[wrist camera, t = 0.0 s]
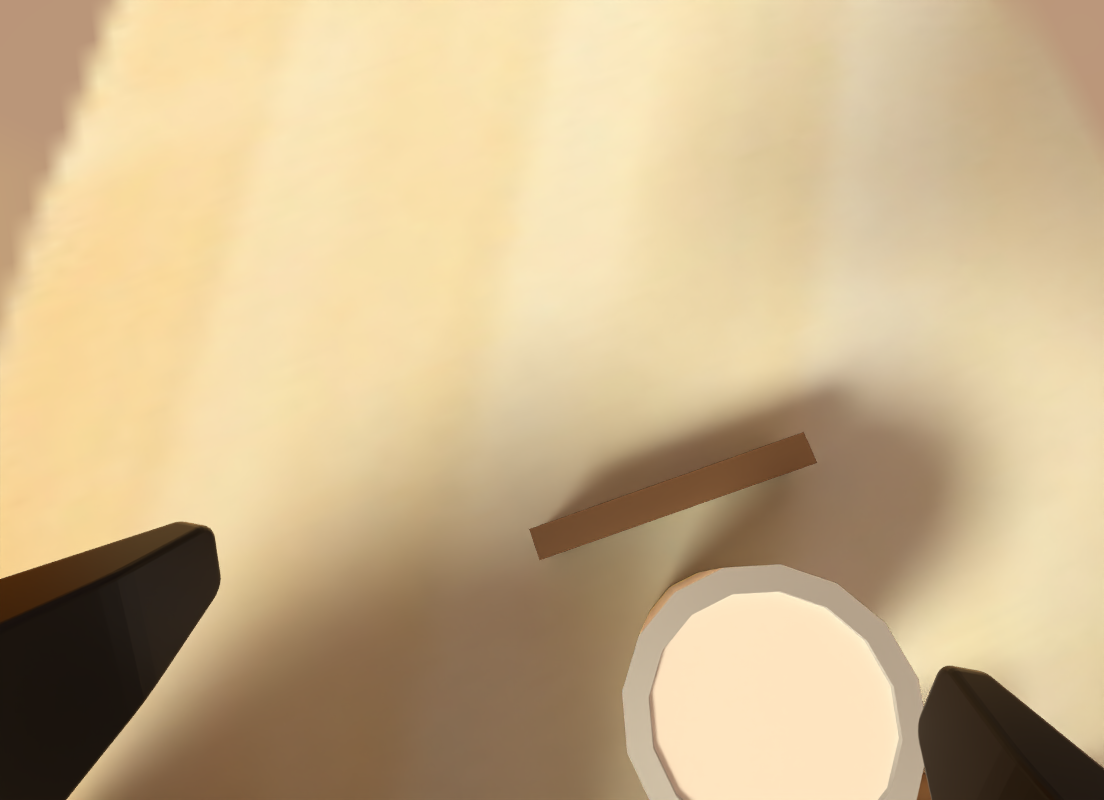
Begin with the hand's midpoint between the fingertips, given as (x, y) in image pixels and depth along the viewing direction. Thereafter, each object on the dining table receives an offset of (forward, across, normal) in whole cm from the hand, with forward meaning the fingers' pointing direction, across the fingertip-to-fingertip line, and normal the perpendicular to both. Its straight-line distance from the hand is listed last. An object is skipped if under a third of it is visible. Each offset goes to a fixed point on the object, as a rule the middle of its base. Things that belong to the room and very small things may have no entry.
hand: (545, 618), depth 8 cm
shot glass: (+11, -5, +10) cm, 16 cm away
